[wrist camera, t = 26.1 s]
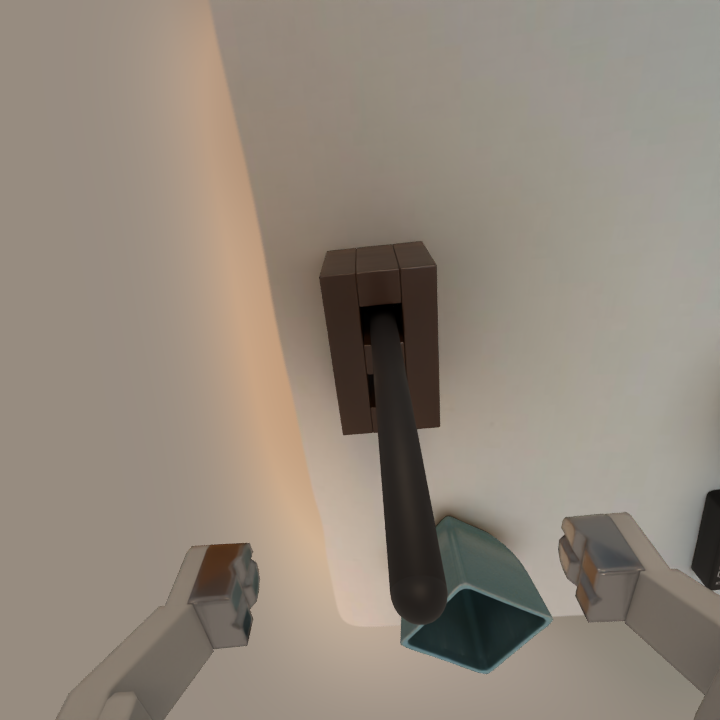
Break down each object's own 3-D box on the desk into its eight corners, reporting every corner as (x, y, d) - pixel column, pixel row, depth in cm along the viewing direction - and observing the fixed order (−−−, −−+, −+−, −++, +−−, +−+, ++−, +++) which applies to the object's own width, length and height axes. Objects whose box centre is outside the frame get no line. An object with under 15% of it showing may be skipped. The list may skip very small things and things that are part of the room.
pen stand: (345, 388, 34) (343, 435, 28) (326, 251, 29) (318, 276, 23) (427, 381, 33) (440, 427, 28) (422, 240, 28) (436, 264, 23)
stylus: (362, 291, 30) (380, 625, 11) (376, 274, 29) (419, 599, 11) (380, 304, 30) (425, 641, 12) (394, 287, 30) (465, 617, 11)
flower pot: (441, 491, 39) (462, 583, 31) (518, 526, 41) (557, 620, 33) (390, 550, 42) (397, 646, 34) (463, 579, 44) (486, 676, 36)
